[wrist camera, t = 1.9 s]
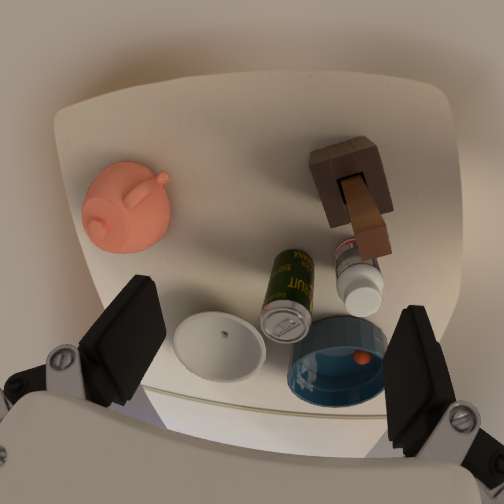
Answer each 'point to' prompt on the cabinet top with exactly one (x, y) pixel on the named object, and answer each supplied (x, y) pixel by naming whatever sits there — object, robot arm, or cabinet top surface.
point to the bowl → (337, 363)
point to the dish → (219, 346)
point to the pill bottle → (357, 280)
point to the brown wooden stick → (365, 219)
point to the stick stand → (344, 164)
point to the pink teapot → (126, 208)
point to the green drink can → (289, 297)
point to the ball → (362, 356)
